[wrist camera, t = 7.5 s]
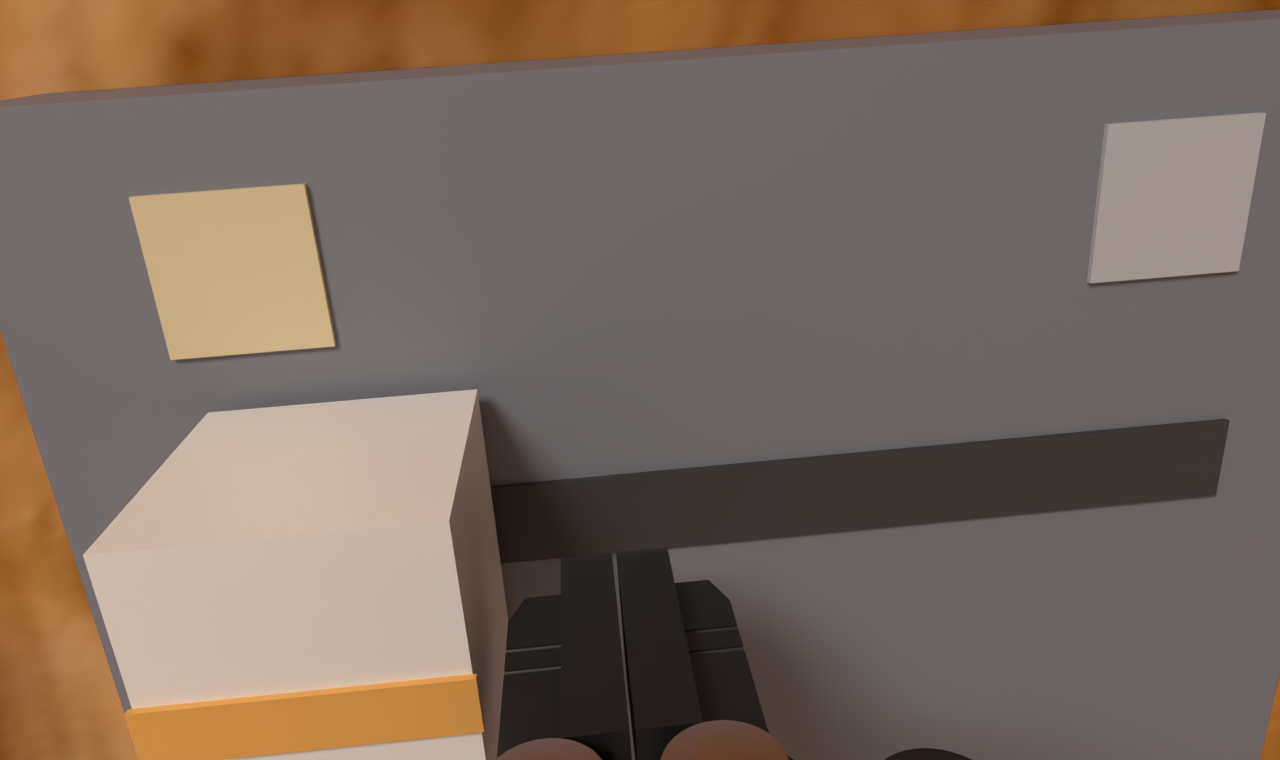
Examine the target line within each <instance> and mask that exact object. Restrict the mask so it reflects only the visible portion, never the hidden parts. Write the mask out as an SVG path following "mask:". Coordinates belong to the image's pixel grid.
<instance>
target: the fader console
mask: <svg viewBox="0 0 1280 760" xmlns="http://www.w3.org/2000/svg"><path fill="white" fill-rule="evenodd" d="M0 330H1V333H2V337H3V340H4V343H5V346H6V349H7V352H8V355H9V358H10V361H11V364H12V367H13V370H14V374H15V377H16V380H17V383H18V386H19V389H20V392H21V395H22V398H23V401H24V404H25V407H26V411H27V414H28V417H29V420H30V423H31V426H32V429H33V432H34V435H35V438H36V441H37V444H38V448H39V451H40V454H41V457H42V460H43V463H44V466H45V469H46V472H47V475H48V478H49V481H50V485H51V488H52V491H53V494H54V497H55V500H56V503H57V506H58V509H59V512H60V515H61V518H62V522H63V525H64V528H65V531H66V534H67V537H68V540H69V543H70V546H71V549H72V552H73V555H74V559H75V562H76V565H77V568H78V571H79V574H80V577H81V580H82V583H83V586H84V589H85V592H86V596H87V599H88V602H89V605H90V608H91V611H92V614H93V617H94V620H95V623H96V626H97V629H98V633H99V636H100V639H101V642H102V645H103V648H104V651H105V654H106V657H107V660H108V663H109V666H110V670H111V673H112V676H113V679H114V682H115V685H116V688H117V691H118V694H119V697H120V700H121V703H122V707H123V710H124V713H126V711H127V709H132V707H131V704H130V701H129V698H128V695H127V692H126V689H125V686H124V682H123V679H122V676H121V673H120V670H119V667H118V664H117V661H116V657H115V654H114V651H113V648H112V645H111V642H110V639H109V636H108V632H107V629H106V626H105V623H104V620H103V617H102V614H101V611H100V607H99V604H98V601H97V598H96V595H95V592H94V589H93V586H92V582H91V579H90V576H89V573H88V570H87V567H86V564H85V561H84V557H83V554H84V553H85V552H86V551H87V550H88V549H89V548H90V546H91V545H92V544H93V543H94V542H95V541H96V540H97V538H98V537H99V536H100V535H101V534H102V533H103V532H104V531H105V529H106V528H107V527H108V526H109V525H110V524H111V523H112V521H113V520H114V519H115V518H116V517H117V516H118V515H119V513H120V512H121V511H122V510H123V509H124V508H125V507H126V505H127V504H128V503H129V502H130V501H131V500H132V499H133V497H134V496H135V495H136V494H137V493H138V492H139V491H140V489H141V488H142V487H143V486H144V485H145V484H146V483H147V481H148V480H149V479H150V478H151V477H152V476H153V475H154V473H155V472H156V471H157V470H158V469H159V468H160V467H161V465H162V464H163V463H164V462H165V461H166V460H167V459H168V457H169V456H170V455H171V454H172V453H173V452H174V451H175V449H176V448H177V447H178V446H179V445H180V444H181V443H182V441H183V440H184V439H185V438H186V437H187V436H188V435H189V433H190V432H191V431H192V430H193V429H194V428H195V427H196V426H197V424H198V423H199V422H200V421H201V420H202V419H203V418H204V416H205V415H206V414H207V413H208V412H220V411H231V410H243V409H254V408H266V407H277V406H289V405H301V404H312V403H324V402H335V401H347V400H359V399H370V398H382V397H393V396H405V395H416V394H428V393H440V392H451V391H463V390H474V389H477V390H478V398H479V405H480V413H481V420H482V428H483V435H484V442H485V450H486V457H487V465H488V472H489V480H490V487H491V495H492V502H493V510H494V517H495V525H496V532H497V540H498V547H499V555H500V562H501V569H502V577H503V584H504V592H505V599H506V607H507V614H508V622H509V620H510V619H511V617H512V616H513V615H514V613H515V612H516V610H517V609H518V607H519V606H520V605H521V603H522V602H523V600H524V599H525V598H530V597H540V596H550V595H560V594H561V558H567V557H577V556H588V555H598V554H608V553H612V559H613V569H614V580H615V590H616V600H617V610H618V620H619V630H620V640H621V650H622V660H623V670H624V680H625V690H626V700H627V710H628V720H629V730H630V742H631V754H632V760H635V755H634V745H633V736H632V726H631V716H630V707H629V697H628V687H627V677H626V666H625V655H624V643H623V631H622V618H621V606H620V594H619V582H618V570H617V557H616V553H617V552H627V551H637V550H648V549H658V548H667V549H668V553H669V558H670V562H671V567H672V572H673V577H674V582H675V583H680V582H690V581H700V580H709V581H710V582H712V583H713V584H714V585H715V586H716V587H717V588H718V589H719V590H720V591H721V592H722V593H723V594H724V595H725V596H726V597H727V598H728V599H729V600H730V602H731V606H732V609H733V612H734V616H735V619H736V623H737V628H738V630H739V633H740V636H741V640H742V643H743V649H744V651H745V653H746V657H747V660H748V664H749V667H750V670H751V674H752V677H753V681H754V684H755V687H756V691H757V694H758V698H759V701H760V704H761V708H762V711H763V715H764V718H765V722H766V725H767V728H768V731H769V733H770V735H772V736H773V737H774V738H775V739H776V740H777V741H778V742H779V743H780V744H781V746H782V747H783V749H784V750H785V752H786V754H787V755H788V756H789V757H791V758H792V759H794V760H885V759H886V758H887V757H889V756H891V755H893V754H895V753H898V752H901V751H904V750H909V749H916V748H933V749H941V750H946V751H950V752H954V753H957V754H960V755H963V756H965V757H967V758H969V759H971V760H1260V757H1261V753H1262V749H1263V744H1264V740H1265V735H1266V731H1267V727H1268V722H1269V718H1270V713H1271V709H1272V705H1273V700H1274V696H1275V691H1276V687H1277V682H1278V678H1279V674H1280V9H1277V10H1262V11H1247V12H1233V13H1218V14H1204V15H1189V16H1174V17H1160V18H1145V19H1131V20H1116V21H1101V22H1087V23H1072V24H1058V25H1043V26H1028V27H1014V28H999V29H985V30H970V31H955V32H941V33H926V34H912V35H897V36H882V37H868V38H853V39H839V40H824V41H809V42H795V43H780V44H766V45H751V46H736V47H722V48H707V49H693V50H678V51H663V52H649V53H634V54H620V55H605V56H591V57H576V58H561V59H547V60H532V61H518V62H503V63H488V64H474V65H459V66H445V67H430V68H415V69H401V70H386V71H372V72H357V73H342V74H328V75H313V76H299V77H284V78H269V79H255V80H240V81H226V82H211V83H196V84H182V85H167V86H153V87H138V88H123V89H109V90H94V91H80V92H65V93H50V94H40V95H34V96H27V97H21V98H15V99H8V100H2V101H0Z"/></svg>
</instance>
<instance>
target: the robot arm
mask: <svg viewBox="0 0 1280 760" xmlns="http://www.w3.org/2000/svg"><path fill="white" fill-rule="evenodd" d="M616 557H617V570H618V582H619V594H620V606H621V618H622V631H623V643H624V655H625V666H626V677H627V687H628V697H629V707H630V716H631V726H632V736H633V745H634V755H635V760H794V759H792V758H791V757H789V756H788V755H787V754H786V752H785V750H784V749H783V747H782V746H781V744H780V743H779V742H778V741H777V740H776V739H775V738H774V737H773V736H772V735H770V733H769V731H768V728H767V725H766V722H765V718H764V715H763V711H762V708H761V704H760V701H759V698H758V694H757V691H756V687H755V684H754V681H753V677H752V674H751V670H750V667H749V664H748V660H747V657H746V653H745V651H744V649H743V643H742V640H741V636H740V633H739V630H738V628H737V623H736V619H735V616H734V612H733V609H732V606H731V602H730V600H729V599H728V598H727V597H726V596H725V595H724V594H723V593H722V592H721V591H720V590H719V589H718V588H717V587H716V586H715V585H714V584H713V583H712V582H710V581H709V580H700V581H690V582H680V583H675V582H674V577H673V572H672V567H671V562H670V558H669V553H668V549H667V548H658V549H648V550H637V551H627V552H617V553H616ZM496 760H632V754H631V742H630V730H629V720H628V710H627V700H626V690H625V680H624V670H623V660H622V650H621V640H620V630H619V620H618V610H617V600H616V590H615V580H614V569H613V559H612V553H608V554H598V555H588V556H577V557H567V558H561V594H560V595H550V596H540V597H530V598H525V599H524V600H523V602H522V603H521V605H520V606H519V607H518V609H517V610H516V612H515V613H514V615H513V616H512V617H511V619H510V620H509V622H508V629H507V641H506V654H505V665H504V677H503V689H502V702H501V714H500V726H499V738H498V750H497V759H496ZM885 760H971V759H969V758H967V757H965V756H963V755H960V754H957V753H954V752H950V751H946V750H941V749H933V748H916V749H909V750H904V751H901V752H898V753H895V754H893V755H891V756H889V757H887V758H886V759H885Z"/></svg>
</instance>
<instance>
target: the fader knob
mask: <svg viewBox="0 0 1280 760" xmlns="http://www.w3.org/2000/svg"><path fill="white" fill-rule="evenodd" d="M83 557H84V561H85V564H86V567H87V570H88V573H89V576H90V579H91V582H92V586H93V589H94V592H95V595H96V598H97V601H98V604H99V607H100V611H101V614H102V617H103V620H104V623H105V626H106V629H107V632H108V636H109V639H110V642H111V645H112V648H113V651H114V654H115V657H116V661H117V664H118V667H119V670H120V673H121V676H122V679H123V682H124V686H125V689H126V692H127V695H128V698H129V701H130V704H131V707H132V709H127V711H126V713H125V714H124V717H125V720H126V723H127V726H128V729H129V732H130V735H131V738H132V741H133V744H134V747H135V750H136V754H137V757H138V760H496V759H497V750H498V738H499V726H500V714H501V702H502V689H503V677H504V665H505V654H506V641H507V629H508V614H507V607H506V599H505V592H504V584H503V577H502V569H501V562H500V555H499V547H498V540H497V532H496V525H495V517H494V510H493V502H492V495H491V487H490V480H489V472H488V465H487V457H486V450H485V442H484V435H483V428H482V420H481V413H480V405H479V398H478V390H477V389H474V390H463V391H451V392H440V393H428V394H416V395H405V396H393V397H382V398H370V399H359V400H347V401H335V402H324V403H312V404H301V405H289V406H277V407H266V408H254V409H243V410H231V411H220V412H208V413H207V414H206V415H205V416H204V418H203V419H202V420H201V421H200V422H199V423H198V424H197V426H196V427H195V428H194V429H193V430H192V431H191V432H190V433H189V435H188V436H187V437H186V438H185V439H184V440H183V441H182V443H181V444H180V445H179V446H178V447H177V448H176V449H175V451H174V452H173V453H172V454H171V455H170V456H169V457H168V459H167V460H166V461H165V462H164V463H163V464H162V465H161V467H160V468H159V469H158V470H157V471H156V472H155V473H154V475H153V476H152V477H151V478H150V479H149V480H148V481H147V483H146V484H145V485H144V486H143V487H142V488H141V489H140V491H139V492H138V493H137V494H136V495H135V496H134V497H133V499H132V500H131V501H130V502H129V503H128V504H127V505H126V507H125V508H124V509H123V510H122V511H121V512H120V513H119V515H118V516H117V517H116V518H115V519H114V520H113V521H112V523H111V524H110V525H109V526H108V527H107V528H106V529H105V531H104V532H103V533H102V534H101V535H100V536H99V537H98V538H97V540H96V541H95V542H94V543H93V544H92V545H91V546H90V548H89V549H88V550H87V551H86V552H85V553H84V554H83Z"/></svg>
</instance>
